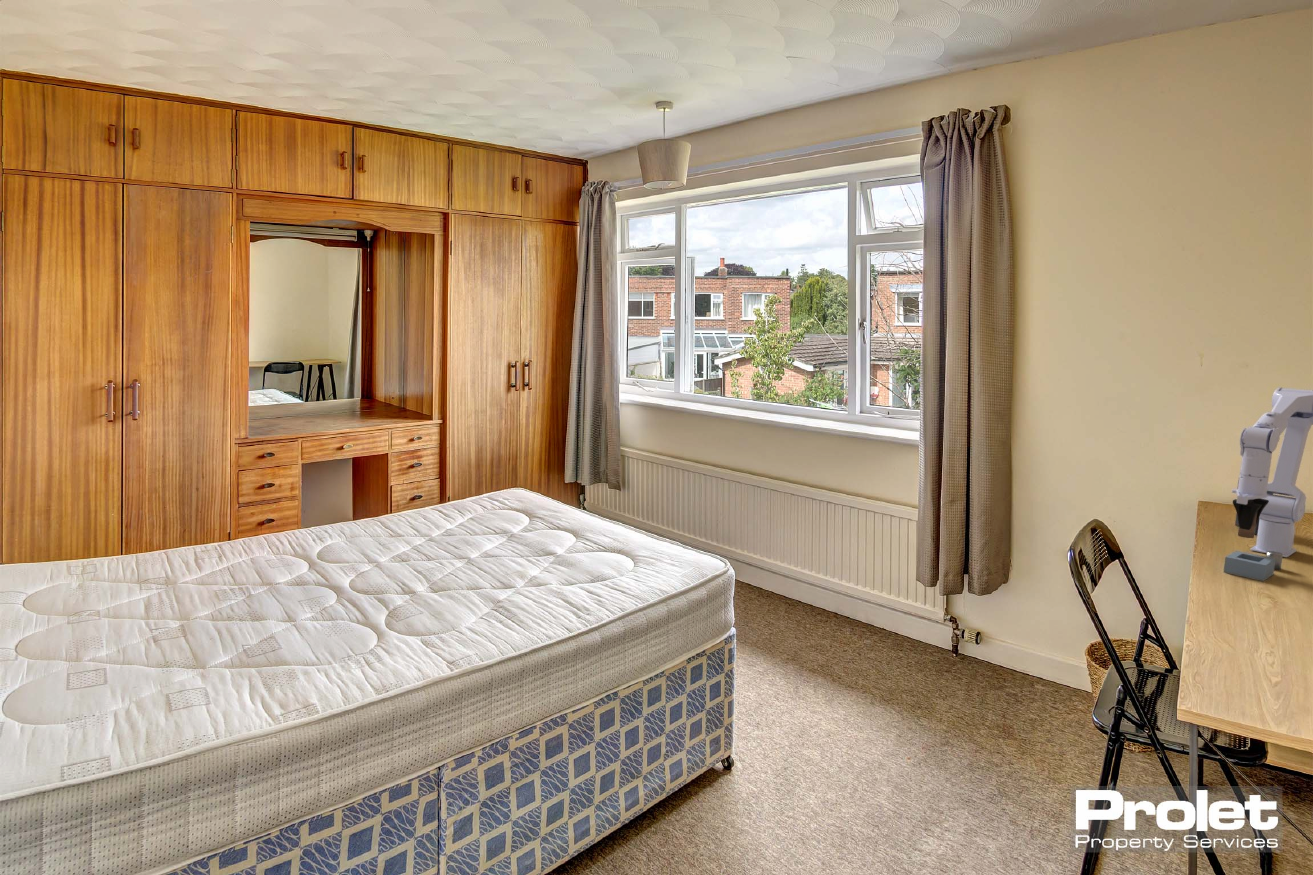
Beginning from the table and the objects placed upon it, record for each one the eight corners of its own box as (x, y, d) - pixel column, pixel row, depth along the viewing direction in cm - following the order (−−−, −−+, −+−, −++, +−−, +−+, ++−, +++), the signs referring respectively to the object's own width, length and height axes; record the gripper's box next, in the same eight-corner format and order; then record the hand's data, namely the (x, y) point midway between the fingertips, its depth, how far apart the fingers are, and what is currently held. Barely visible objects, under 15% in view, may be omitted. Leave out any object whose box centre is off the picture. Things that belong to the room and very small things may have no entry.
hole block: (1234, 565, 191) (1236, 550, 190) (1273, 574, 185) (1275, 558, 184) (1223, 572, 186) (1225, 556, 186) (1263, 581, 180) (1265, 565, 179)
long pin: (1240, 533, 192) (1243, 507, 191) (1255, 536, 190) (1259, 509, 188) (1235, 535, 190) (1239, 509, 189) (1251, 538, 188) (1255, 511, 187)
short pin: (1266, 565, 192) (1268, 550, 191) (1282, 568, 189) (1284, 553, 188) (1262, 567, 190) (1264, 552, 189) (1278, 571, 187) (1280, 555, 186)
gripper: (1244, 469, 195) (1237, 519, 197) (1224, 475, 186) (1218, 528, 188) (1278, 473, 189) (1271, 525, 191) (1260, 480, 181) (1252, 535, 183)
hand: (1247, 527), depth 189 cm, fingers closed on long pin, 3 cm apart
